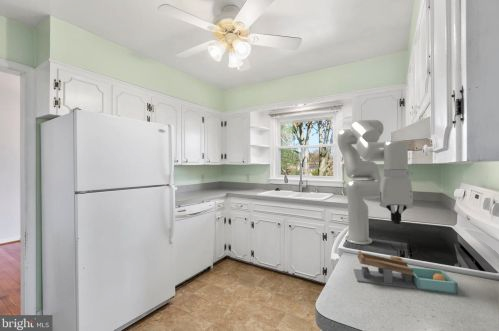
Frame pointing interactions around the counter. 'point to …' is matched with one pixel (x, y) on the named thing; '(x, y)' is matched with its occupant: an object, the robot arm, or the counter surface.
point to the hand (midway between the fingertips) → (396, 223)
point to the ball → (439, 277)
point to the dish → (433, 281)
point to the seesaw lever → (385, 263)
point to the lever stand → (384, 277)
